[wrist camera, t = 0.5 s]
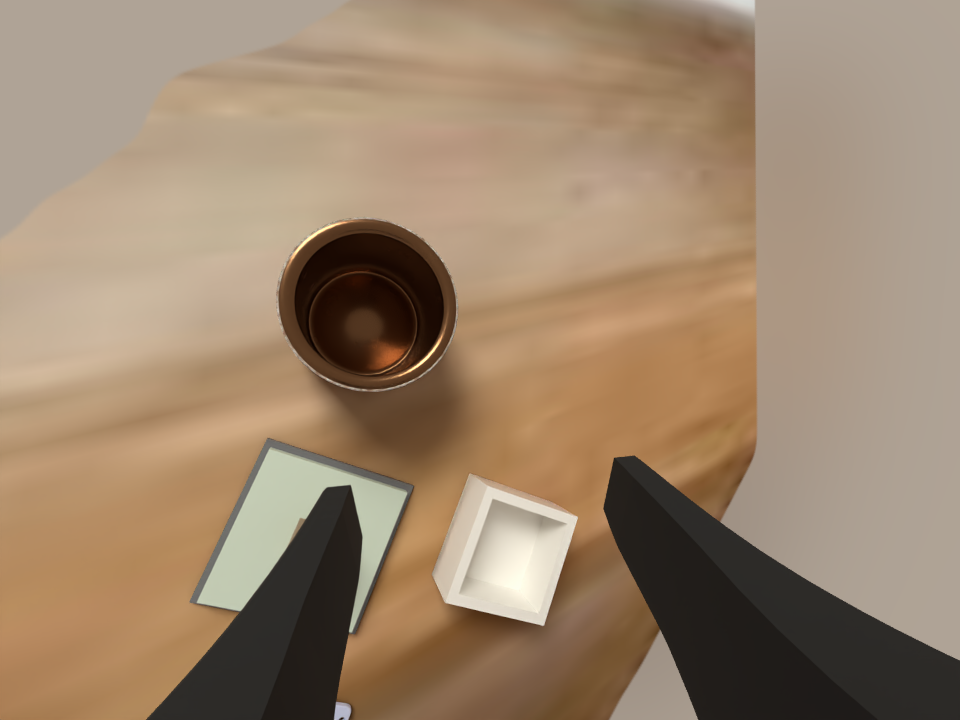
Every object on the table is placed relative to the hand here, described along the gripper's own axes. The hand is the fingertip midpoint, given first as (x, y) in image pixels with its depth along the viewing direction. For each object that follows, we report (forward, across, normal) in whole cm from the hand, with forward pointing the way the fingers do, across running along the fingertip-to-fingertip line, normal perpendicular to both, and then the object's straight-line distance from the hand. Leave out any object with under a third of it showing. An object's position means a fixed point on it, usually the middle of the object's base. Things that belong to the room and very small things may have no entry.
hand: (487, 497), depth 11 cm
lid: (+14, +12, +18) cm, 25 cm away
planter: (+24, +7, +4) cm, 25 cm away
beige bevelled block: (+16, -3, +23) cm, 28 cm away
